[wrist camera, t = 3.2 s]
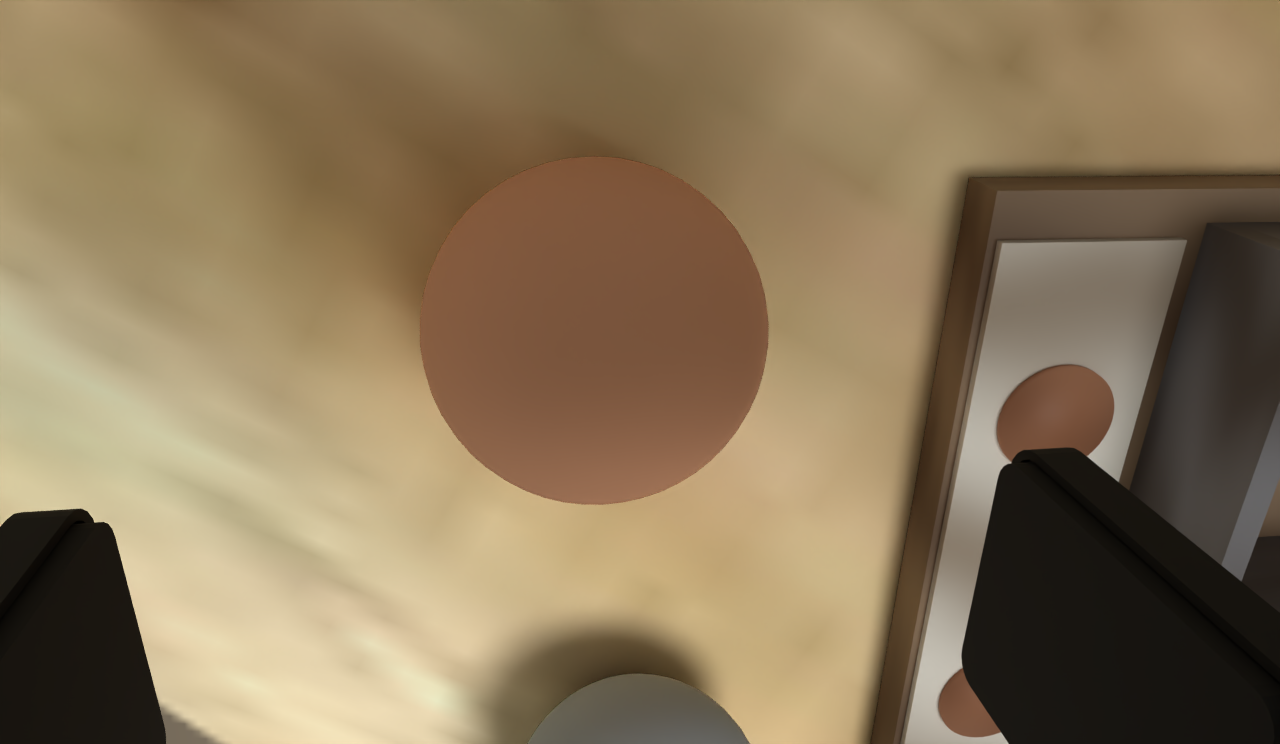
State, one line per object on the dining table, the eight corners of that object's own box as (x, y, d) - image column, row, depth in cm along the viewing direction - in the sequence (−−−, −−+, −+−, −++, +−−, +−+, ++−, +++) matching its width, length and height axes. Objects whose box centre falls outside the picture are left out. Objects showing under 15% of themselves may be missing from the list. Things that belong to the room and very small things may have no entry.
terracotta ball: (422, 127, 17) (379, 208, 11) (736, 127, 17) (835, 202, 12) (445, 413, 19) (418, 589, 14) (718, 402, 20) (793, 566, 15)
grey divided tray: (969, 177, 19) (1086, 233, 15) (1553, 173, 20) (1791, 222, 16) (861, 796, 26) (920, 938, 22) (1294, 754, 28) (1418, 879, 24)
